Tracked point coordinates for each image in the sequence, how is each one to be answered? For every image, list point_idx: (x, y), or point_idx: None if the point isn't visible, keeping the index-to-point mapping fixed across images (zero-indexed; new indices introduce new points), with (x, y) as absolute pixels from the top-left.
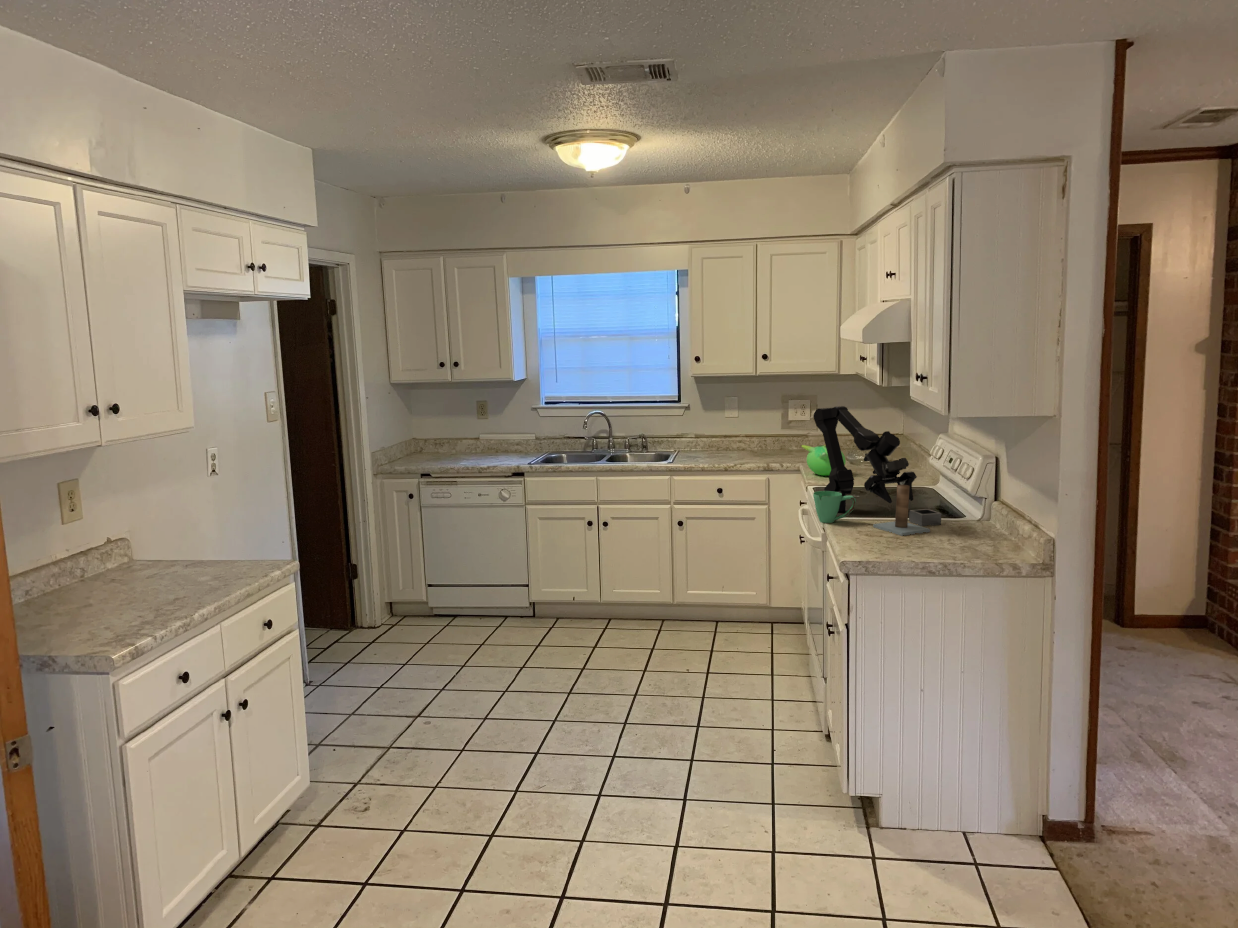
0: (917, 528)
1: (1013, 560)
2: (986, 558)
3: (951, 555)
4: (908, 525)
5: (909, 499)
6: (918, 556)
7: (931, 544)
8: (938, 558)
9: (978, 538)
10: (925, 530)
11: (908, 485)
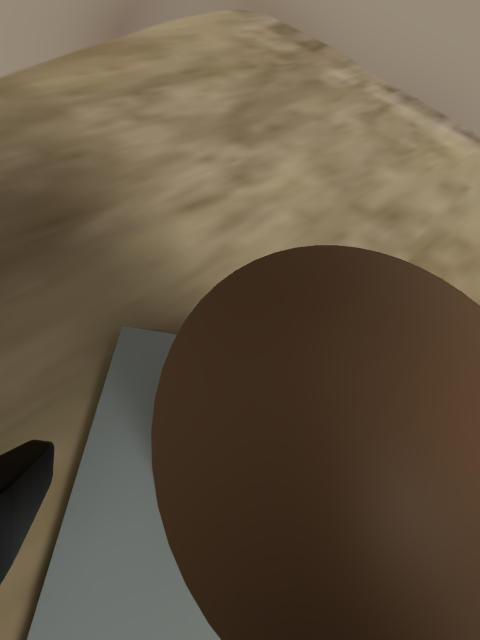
0: None
1: (250, 33)
2: (296, 69)
3: (362, 125)
4: (142, 480)
5: (30, 523)
6: (461, 170)
7: (321, 210)
8: (418, 133)
9: (68, 148)
10: (159, 334)
11: (180, 346)
